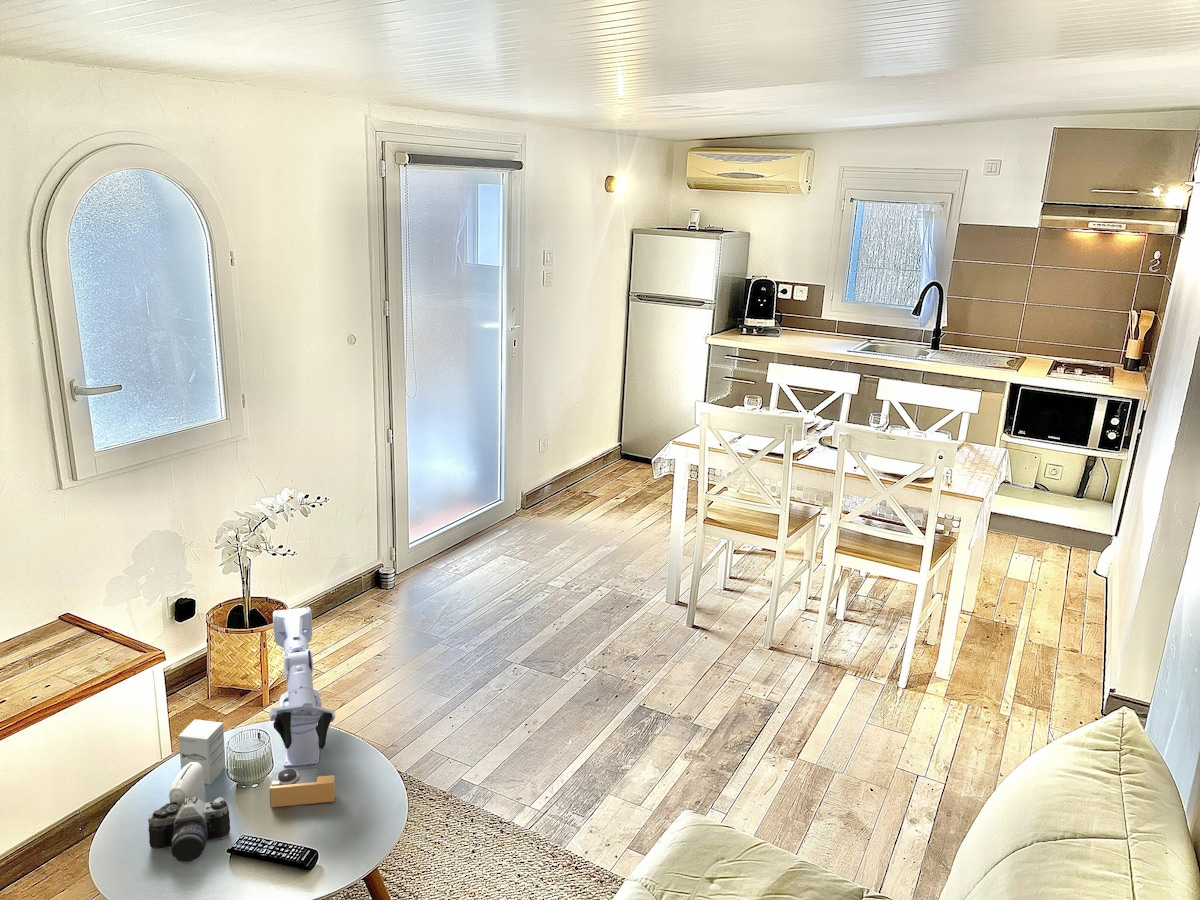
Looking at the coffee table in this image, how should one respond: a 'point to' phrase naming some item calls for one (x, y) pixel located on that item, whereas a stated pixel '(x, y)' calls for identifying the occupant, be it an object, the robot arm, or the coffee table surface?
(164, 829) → the camera
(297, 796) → the tan l-shaped bracket
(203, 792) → the photo printer
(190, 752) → the supplement box
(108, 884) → the coffee table surface
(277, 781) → the block
